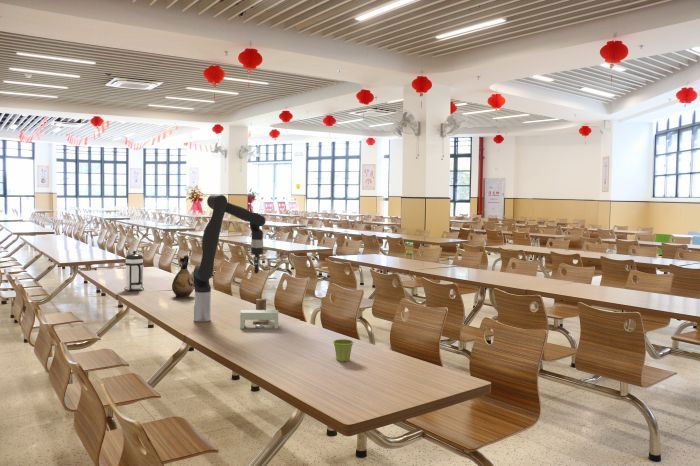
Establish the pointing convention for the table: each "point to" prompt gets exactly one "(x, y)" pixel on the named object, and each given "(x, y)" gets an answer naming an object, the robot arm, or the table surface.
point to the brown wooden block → (260, 306)
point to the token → (259, 325)
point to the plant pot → (343, 349)
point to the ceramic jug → (183, 280)
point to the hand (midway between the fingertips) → (256, 272)
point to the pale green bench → (258, 316)
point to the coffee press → (134, 271)
